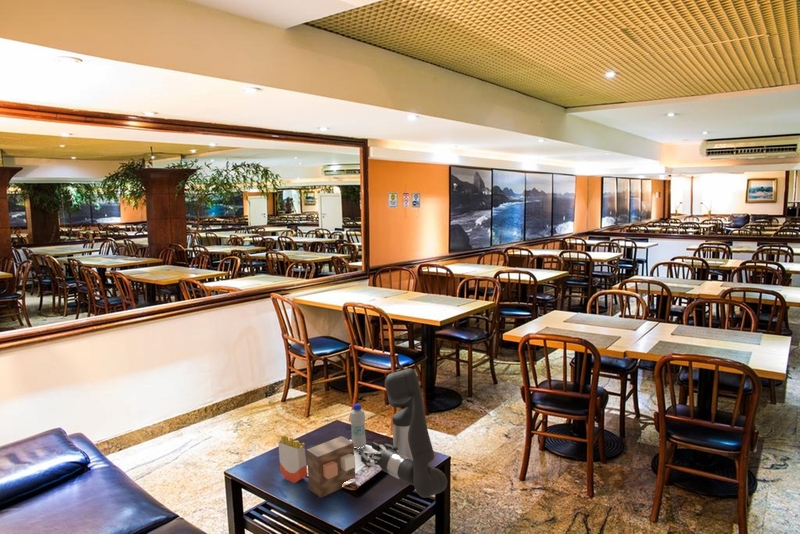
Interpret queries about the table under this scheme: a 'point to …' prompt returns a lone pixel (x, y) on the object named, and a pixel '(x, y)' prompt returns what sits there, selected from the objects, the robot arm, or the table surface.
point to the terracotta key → (329, 469)
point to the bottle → (358, 426)
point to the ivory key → (347, 462)
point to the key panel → (326, 454)
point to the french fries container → (292, 459)
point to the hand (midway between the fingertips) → (366, 447)
